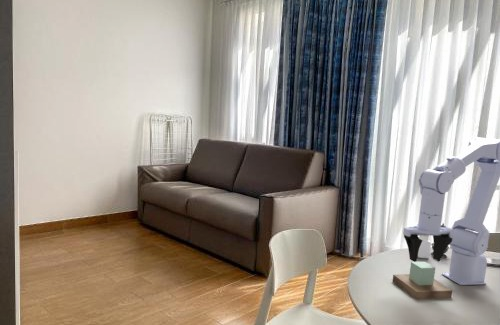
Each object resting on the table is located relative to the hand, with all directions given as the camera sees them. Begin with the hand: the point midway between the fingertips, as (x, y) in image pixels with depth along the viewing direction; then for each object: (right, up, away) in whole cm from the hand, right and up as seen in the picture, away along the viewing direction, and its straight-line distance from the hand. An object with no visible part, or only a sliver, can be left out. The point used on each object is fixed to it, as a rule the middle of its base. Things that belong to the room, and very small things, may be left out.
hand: (424, 260), depth 109 cm
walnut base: (-1, -8, +1) cm, 9 cm away
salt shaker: (+19, -6, +31) cm, 37 cm away
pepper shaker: (+12, -6, +28) cm, 31 cm away
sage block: (-1, -6, +1) cm, 7 cm away
